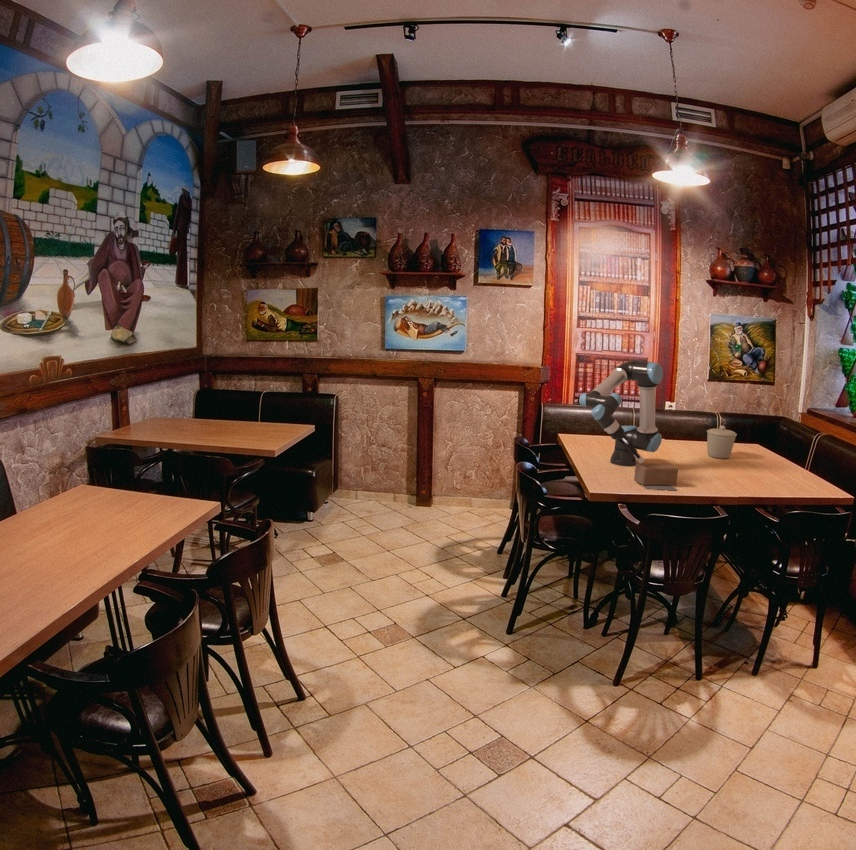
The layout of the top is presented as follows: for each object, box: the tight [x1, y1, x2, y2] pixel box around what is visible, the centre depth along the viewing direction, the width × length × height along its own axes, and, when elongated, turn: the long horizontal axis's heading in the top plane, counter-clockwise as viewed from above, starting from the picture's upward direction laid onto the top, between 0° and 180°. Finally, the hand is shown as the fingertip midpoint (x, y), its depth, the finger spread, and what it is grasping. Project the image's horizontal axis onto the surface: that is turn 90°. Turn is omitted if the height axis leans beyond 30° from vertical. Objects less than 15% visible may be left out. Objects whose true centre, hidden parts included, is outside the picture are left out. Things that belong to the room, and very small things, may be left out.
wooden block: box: [633, 462, 679, 486], centre depth 328 cm, size 10×10×20 cm
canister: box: [706, 425, 738, 460], centre depth 397 cm, size 18×18×21 cm
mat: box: [642, 485, 678, 492], centre depth 326 cm, size 16×16×1 cm
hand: (642, 461), depth 324 cm, fingers closed
